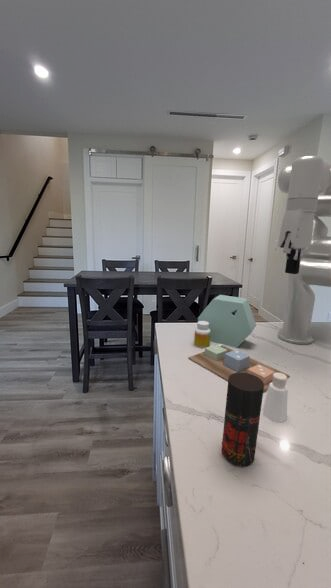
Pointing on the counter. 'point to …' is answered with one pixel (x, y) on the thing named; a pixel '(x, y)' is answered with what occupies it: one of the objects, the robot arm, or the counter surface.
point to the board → (224, 371)
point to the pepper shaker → (276, 399)
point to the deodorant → (242, 418)
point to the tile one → (215, 352)
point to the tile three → (262, 373)
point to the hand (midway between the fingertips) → (291, 273)
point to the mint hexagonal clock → (228, 320)
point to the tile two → (236, 361)
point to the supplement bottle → (202, 335)
